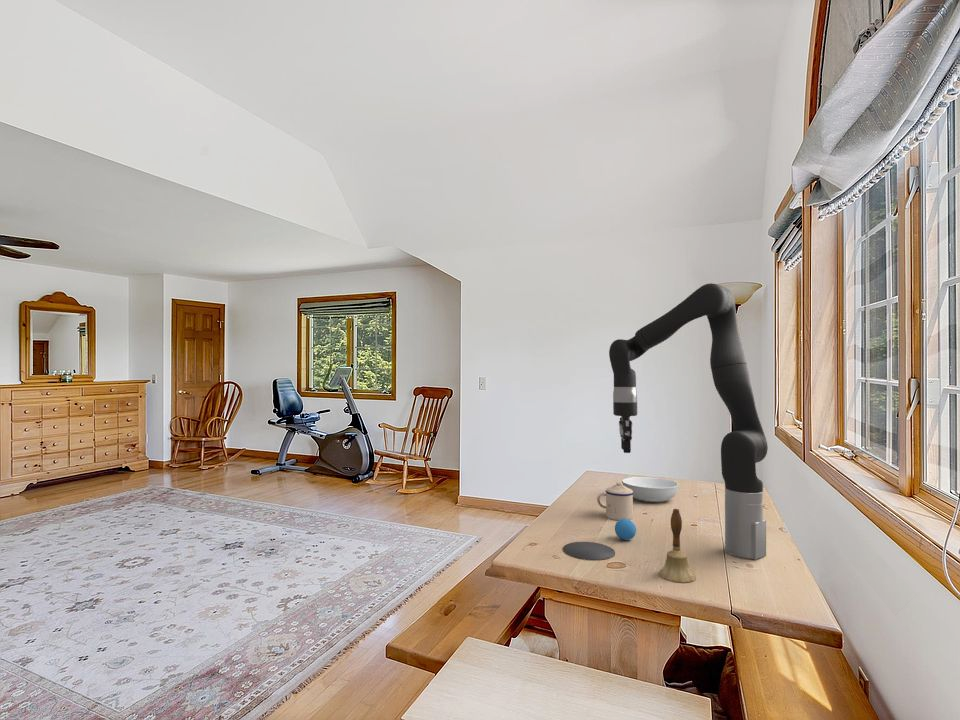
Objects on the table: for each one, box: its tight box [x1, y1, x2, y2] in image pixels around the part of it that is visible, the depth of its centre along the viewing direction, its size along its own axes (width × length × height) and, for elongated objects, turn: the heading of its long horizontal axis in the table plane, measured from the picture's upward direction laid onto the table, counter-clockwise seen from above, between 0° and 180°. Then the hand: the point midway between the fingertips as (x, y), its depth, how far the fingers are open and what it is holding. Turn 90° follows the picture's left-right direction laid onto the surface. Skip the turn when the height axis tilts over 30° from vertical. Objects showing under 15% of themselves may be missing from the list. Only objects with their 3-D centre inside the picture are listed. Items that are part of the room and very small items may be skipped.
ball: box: [614, 519, 637, 541], centre depth 151 cm, size 6×6×6 cm
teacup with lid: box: [596, 481, 634, 521], centre depth 174 cm, size 12×9×12 cm
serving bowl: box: [621, 476, 680, 503], centre depth 198 cm, size 21×21×7 cm
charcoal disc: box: [562, 541, 616, 561], centre depth 141 cm, size 14×14×1 cm
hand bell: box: [658, 508, 696, 584], centre depth 124 cm, size 8×8×16 cm
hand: (625, 451), depth 167 cm, fingers open, 8 cm apart
